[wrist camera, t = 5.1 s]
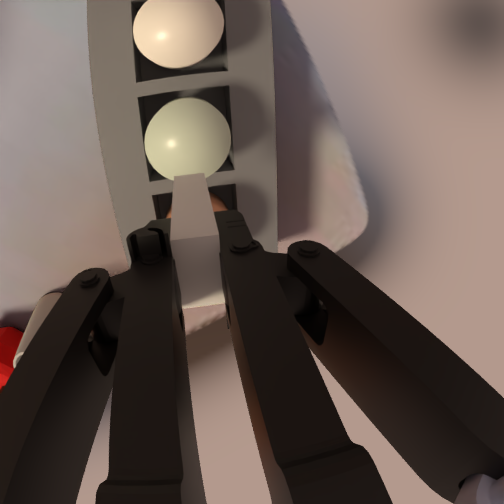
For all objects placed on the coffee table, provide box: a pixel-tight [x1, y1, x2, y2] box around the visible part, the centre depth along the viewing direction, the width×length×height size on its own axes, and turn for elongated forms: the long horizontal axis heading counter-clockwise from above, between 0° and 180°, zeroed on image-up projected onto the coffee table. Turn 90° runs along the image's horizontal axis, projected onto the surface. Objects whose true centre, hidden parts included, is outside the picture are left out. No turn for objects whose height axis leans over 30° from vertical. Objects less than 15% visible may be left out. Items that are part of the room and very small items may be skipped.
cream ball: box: [133, 0, 224, 69], centre depth 15 cm, size 5×5×4 cm
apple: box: [0, 327, 24, 394], centre depth 27 cm, size 11×11×10 cm
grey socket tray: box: [87, 0, 278, 269], centre depth 22 cm, size 12×25×5 cm, turn 3°
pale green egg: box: [145, 96, 231, 181], centre depth 19 cm, size 5×5×4 cm
